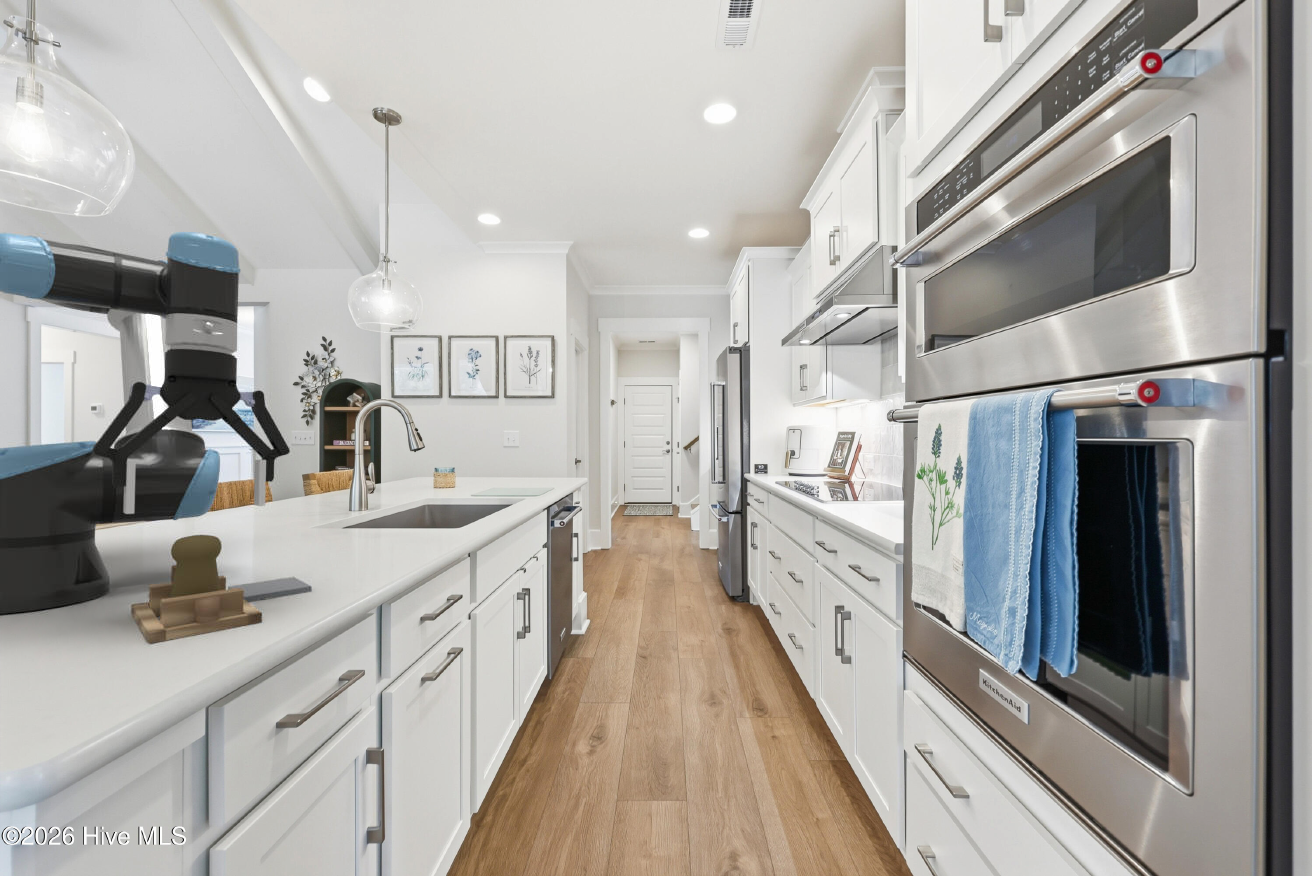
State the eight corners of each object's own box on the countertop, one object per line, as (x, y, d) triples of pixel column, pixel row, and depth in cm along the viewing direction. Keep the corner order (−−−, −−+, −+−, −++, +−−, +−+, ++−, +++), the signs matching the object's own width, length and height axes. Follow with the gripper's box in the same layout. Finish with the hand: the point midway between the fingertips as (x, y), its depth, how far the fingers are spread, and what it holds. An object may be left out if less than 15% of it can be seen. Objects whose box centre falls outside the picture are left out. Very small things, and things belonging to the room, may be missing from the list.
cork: (190, 626, 70) (192, 540, 70) (152, 623, 71) (154, 538, 72) (235, 612, 76) (237, 533, 76) (199, 609, 77) (201, 531, 78)
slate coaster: (227, 591, 87) (228, 586, 87) (293, 581, 94) (293, 576, 94) (242, 602, 81) (242, 597, 81) (311, 591, 88) (311, 586, 88)
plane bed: (131, 613, 75) (132, 569, 75) (230, 597, 84) (231, 558, 84) (148, 643, 64) (150, 592, 64) (261, 622, 72) (262, 576, 72)
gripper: (68, 332, 63) (63, 519, 62) (315, 360, 81) (312, 504, 81) (66, 341, 67) (60, 514, 67) (299, 365, 86) (296, 501, 86)
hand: (198, 509), depth 74 cm, fingers open, 13 cm apart
